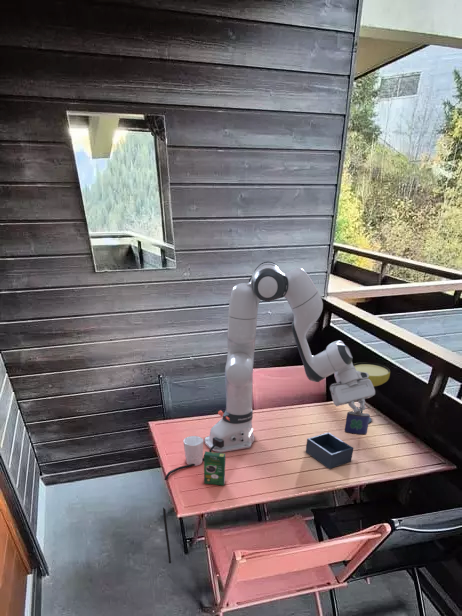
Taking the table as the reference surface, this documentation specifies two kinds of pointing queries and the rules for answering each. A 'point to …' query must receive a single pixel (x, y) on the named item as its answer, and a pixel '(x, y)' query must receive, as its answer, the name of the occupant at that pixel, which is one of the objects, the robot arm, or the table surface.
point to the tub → (329, 450)
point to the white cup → (193, 450)
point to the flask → (357, 423)
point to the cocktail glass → (374, 373)
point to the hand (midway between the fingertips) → (360, 411)
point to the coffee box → (214, 468)
